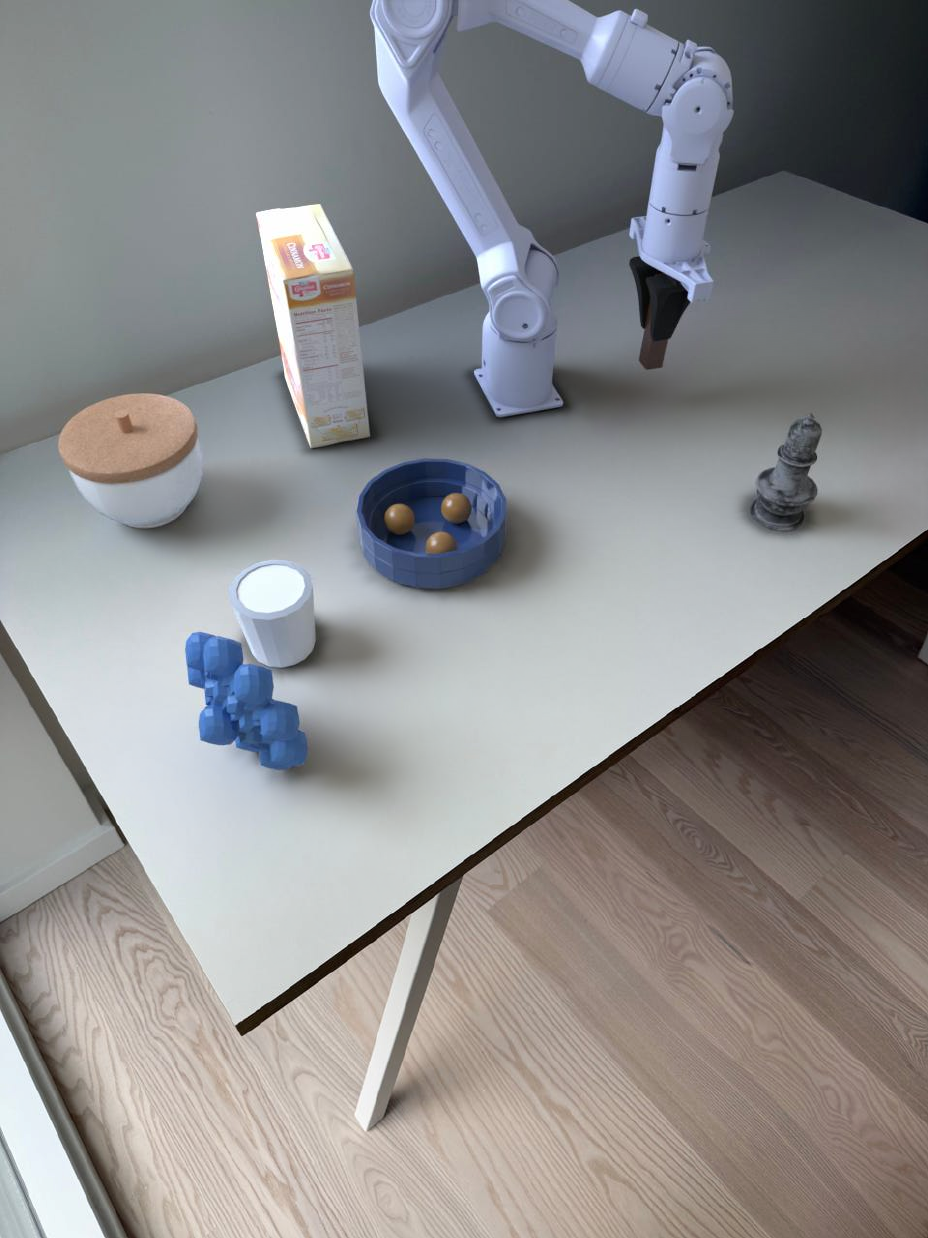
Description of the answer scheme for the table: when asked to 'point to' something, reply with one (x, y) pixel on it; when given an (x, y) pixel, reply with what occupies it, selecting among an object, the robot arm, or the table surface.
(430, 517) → the bowl
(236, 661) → the grapes
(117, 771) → the table surface
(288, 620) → the white cylinder
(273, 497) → the table surface
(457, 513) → the bead
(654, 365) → the stick
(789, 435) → the grey chess piece
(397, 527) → the bead
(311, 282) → the coffeecake box
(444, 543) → the bead
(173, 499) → the lidded bowl
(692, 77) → the robot arm
